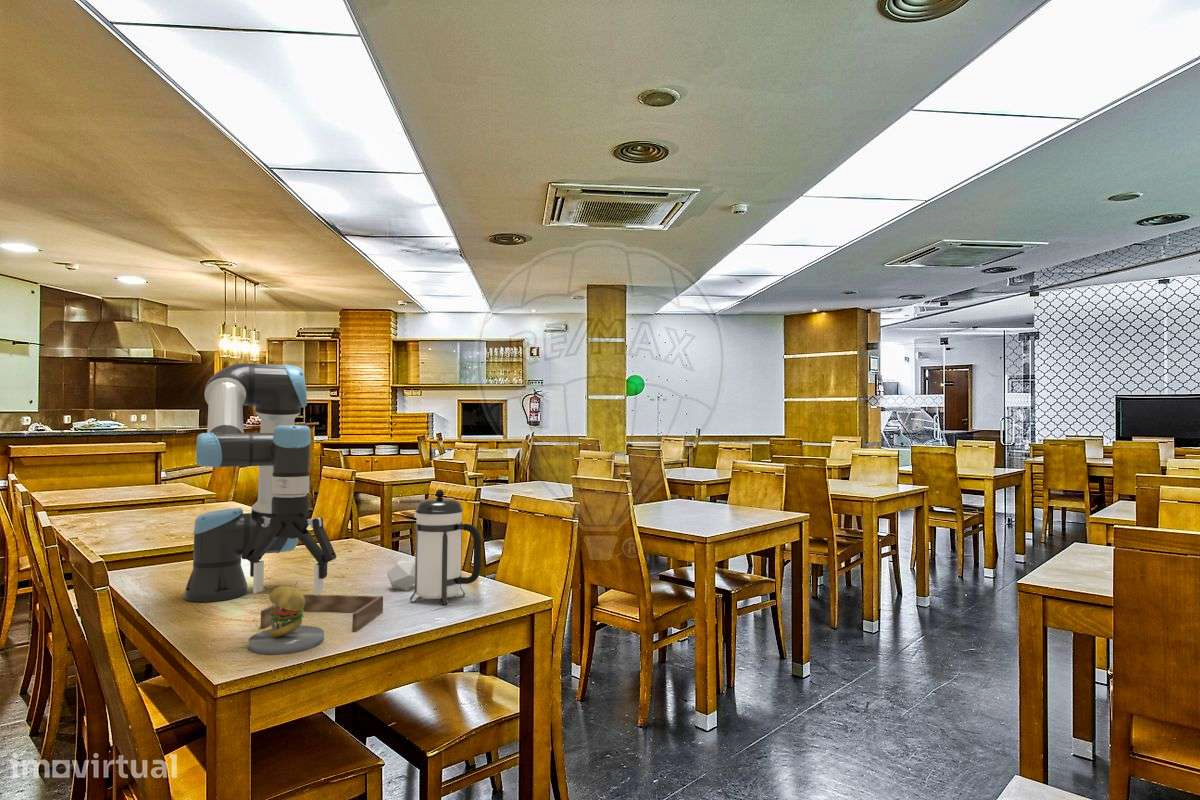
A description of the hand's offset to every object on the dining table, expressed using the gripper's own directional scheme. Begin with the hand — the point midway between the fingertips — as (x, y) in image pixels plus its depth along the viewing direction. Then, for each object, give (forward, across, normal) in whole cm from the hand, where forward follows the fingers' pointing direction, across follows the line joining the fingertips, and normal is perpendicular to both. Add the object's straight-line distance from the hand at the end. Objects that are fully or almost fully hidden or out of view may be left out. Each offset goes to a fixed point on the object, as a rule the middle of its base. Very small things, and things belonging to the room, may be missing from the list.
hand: (288, 592), depth 149 cm
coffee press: (+11, +23, +39) cm, 47 cm away
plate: (+11, 0, 0) cm, 11 cm away
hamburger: (+10, 0, 0) cm, 10 cm away
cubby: (+11, 0, +17) cm, 20 cm away
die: (+11, +8, +50) cm, 52 cm away
